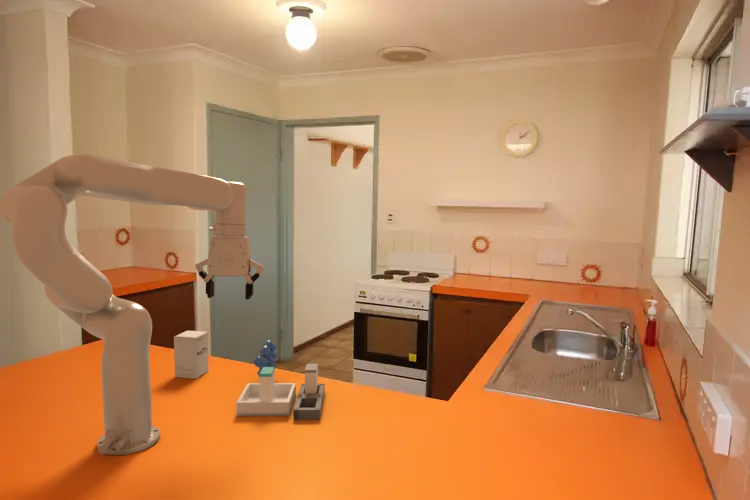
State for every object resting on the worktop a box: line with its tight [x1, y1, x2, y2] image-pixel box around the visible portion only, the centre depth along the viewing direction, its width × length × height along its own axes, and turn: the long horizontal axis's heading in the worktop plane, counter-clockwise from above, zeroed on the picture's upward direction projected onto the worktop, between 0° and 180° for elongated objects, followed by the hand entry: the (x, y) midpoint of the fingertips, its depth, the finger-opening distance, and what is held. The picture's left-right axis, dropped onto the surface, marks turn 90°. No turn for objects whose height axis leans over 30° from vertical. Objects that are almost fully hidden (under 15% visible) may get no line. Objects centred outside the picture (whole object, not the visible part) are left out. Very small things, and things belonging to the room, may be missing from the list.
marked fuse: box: [259, 367, 276, 401], centre depth 134 cm, size 5×3×9 cm, turn 2°
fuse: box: [304, 363, 319, 394], centre depth 139 cm, size 5×3×9 cm, turn 2°
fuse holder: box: [292, 383, 326, 421], centre depth 135 cm, size 17×6×2 cm, turn 2°
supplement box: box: [173, 330, 210, 380], centre depth 157 cm, size 7×7×13 cm
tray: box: [235, 382, 297, 417], centre depth 135 cm, size 13×13×4 cm
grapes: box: [252, 339, 278, 380], centre depth 151 cm, size 12×7×12 cm, turn 174°
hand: (229, 297), depth 132 cm, fingers open, 9 cm apart
